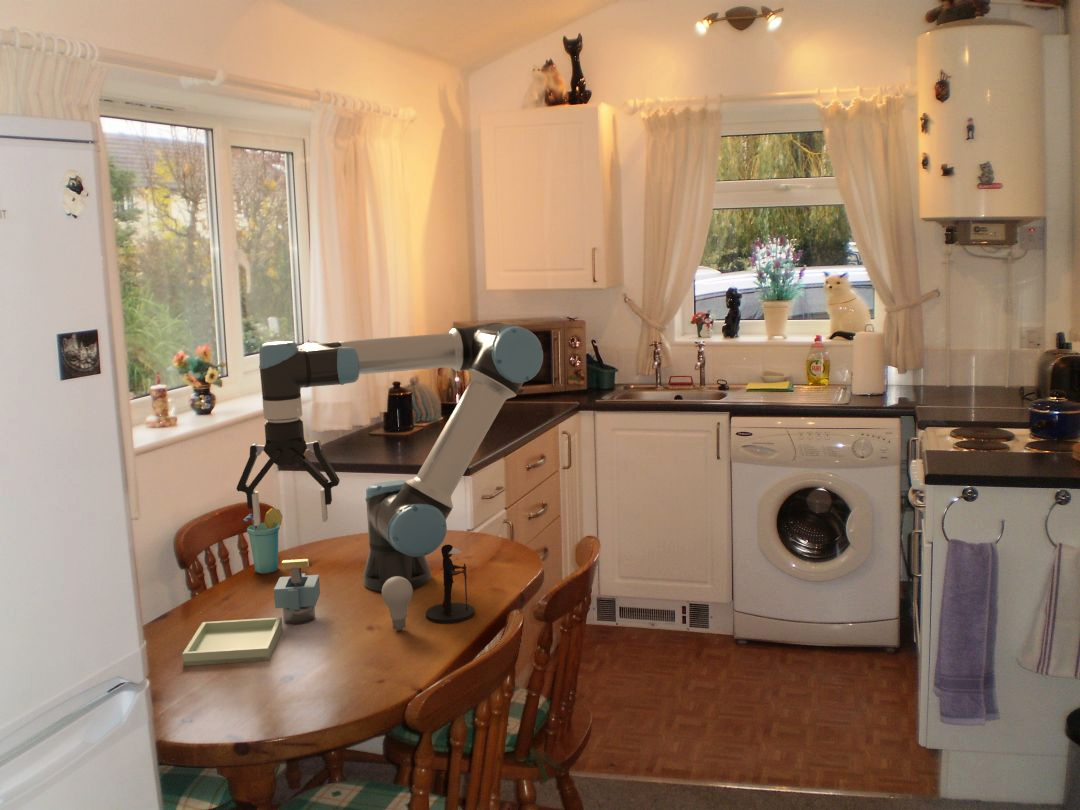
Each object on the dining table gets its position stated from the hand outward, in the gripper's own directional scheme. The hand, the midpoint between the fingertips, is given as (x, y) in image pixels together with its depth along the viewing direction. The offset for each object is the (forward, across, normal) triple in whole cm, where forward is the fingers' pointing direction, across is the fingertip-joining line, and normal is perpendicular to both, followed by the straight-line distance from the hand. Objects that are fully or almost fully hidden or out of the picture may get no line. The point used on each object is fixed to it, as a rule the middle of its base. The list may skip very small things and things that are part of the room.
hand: (291, 522), depth 223 cm
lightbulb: (+21, -21, +10) cm, 31 cm away
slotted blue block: (+17, 0, 0) cm, 17 cm away
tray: (+21, +10, +14) cm, 27 cm away
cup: (+21, +13, -35) cm, 43 cm away
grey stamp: (+21, 0, 0) cm, 21 cm away
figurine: (+21, -31, +3) cm, 38 cm away
